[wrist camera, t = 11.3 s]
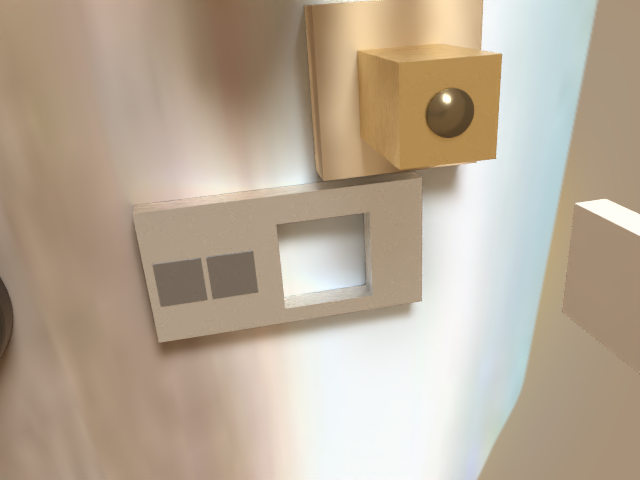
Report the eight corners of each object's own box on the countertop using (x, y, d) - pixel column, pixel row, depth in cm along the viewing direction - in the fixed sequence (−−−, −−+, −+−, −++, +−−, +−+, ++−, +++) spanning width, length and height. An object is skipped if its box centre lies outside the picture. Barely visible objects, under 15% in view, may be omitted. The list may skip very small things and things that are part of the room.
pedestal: (316, 170, 45) (323, 181, 42) (304, 5, 40) (311, 5, 38) (460, 153, 47) (476, 162, 44) (464, -7, 42) (483, -8, 39)
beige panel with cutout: (160, 329, 48) (158, 343, 46) (135, 204, 43) (131, 214, 41) (413, 290, 51) (422, 301, 49) (413, 170, 47) (422, 177, 45)
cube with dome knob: (360, 137, 42) (400, 170, 33) (357, 50, 39) (400, 63, 31) (438, 128, 43) (497, 159, 34) (440, 43, 40) (503, 54, 32)
